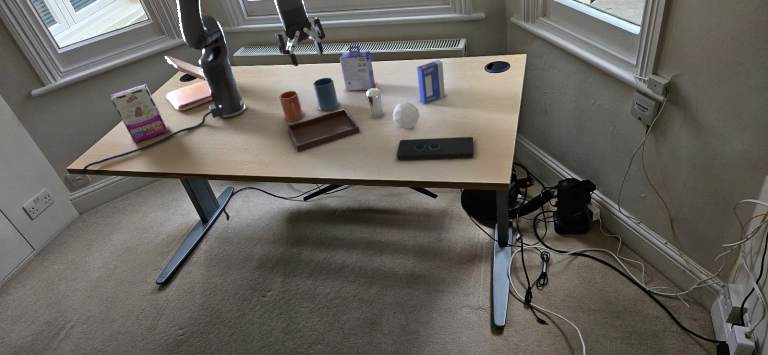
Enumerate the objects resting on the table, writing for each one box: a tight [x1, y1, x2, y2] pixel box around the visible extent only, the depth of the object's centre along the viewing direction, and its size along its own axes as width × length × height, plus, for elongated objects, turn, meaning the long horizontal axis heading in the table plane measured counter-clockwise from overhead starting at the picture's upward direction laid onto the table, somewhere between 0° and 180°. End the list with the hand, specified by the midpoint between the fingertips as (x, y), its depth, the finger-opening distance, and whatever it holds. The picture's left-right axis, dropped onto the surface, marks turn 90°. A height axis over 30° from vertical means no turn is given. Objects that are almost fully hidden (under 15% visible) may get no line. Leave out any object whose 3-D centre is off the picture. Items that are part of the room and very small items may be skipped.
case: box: [164, 55, 213, 112], centre depth 178 cm, size 20×21×16 cm
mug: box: [278, 90, 304, 122], centre depth 152 cm, size 8×6×8 cm
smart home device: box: [396, 136, 474, 161], centre depth 126 cm, size 8×2×20 cm
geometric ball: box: [392, 101, 420, 130], centre depth 137 cm, size 8×8×8 cm
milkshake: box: [365, 81, 384, 119], centre depth 145 cm, size 5×5×10 cm
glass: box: [313, 77, 339, 112], centre depth 155 cm, size 6×6×9 cm
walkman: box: [416, 59, 446, 105], centre depth 148 cm, size 8×3×12 cm, turn 116°
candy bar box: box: [110, 83, 169, 144], centre depth 155 cm, size 11×5×16 cm, turn 117°
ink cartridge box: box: [339, 45, 376, 92], centre depth 163 cm, size 10×6×14 cm, turn 78°
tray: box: [287, 108, 361, 153], centre depth 143 cm, size 19×14×2 cm
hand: (308, 60), depth 140 cm, fingers open, 8 cm apart
